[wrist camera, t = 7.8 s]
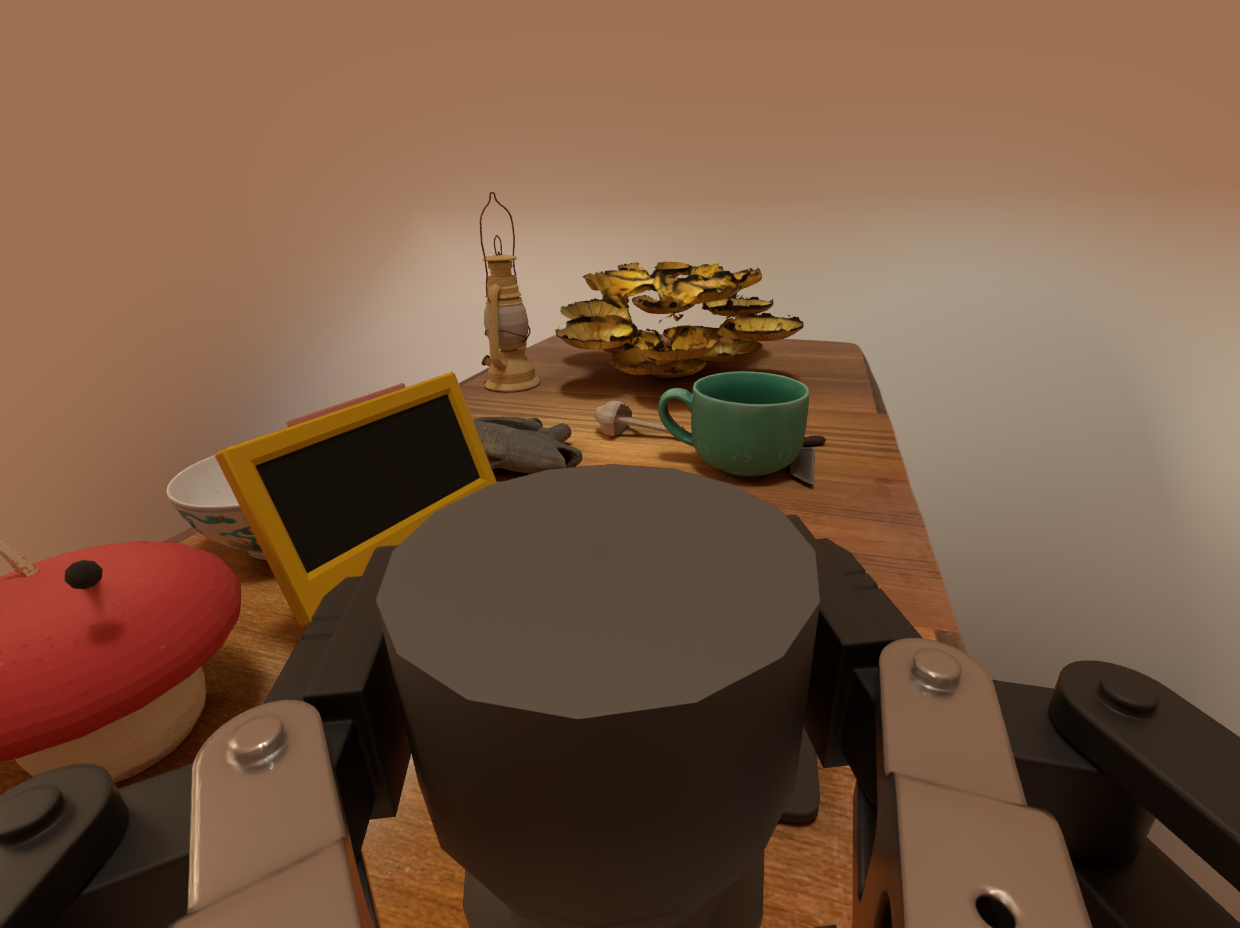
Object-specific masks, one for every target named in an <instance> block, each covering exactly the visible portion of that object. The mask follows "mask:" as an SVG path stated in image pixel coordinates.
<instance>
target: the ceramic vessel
mask: <svg viewBox="0 0 1240 928" xmlns="http://www.w3.org/2000/svg"><path fill="white" fill-rule="evenodd" d="M473 422H474V425H475V427H476V430H477V433H478V435H479V438H480V440H481V443H482V445H483V448H484V451H485V453H486V456H487V458H488V461H489V464H490V466H491V469H492V470H493V469H496V468H503V469H506V470H509V471H515V472H520V473H526V474H534V473H538V472H542V471H545V470H550V469H561V468H572V467H576V466H577V465H578V464H579V463H580V462H581V460H582V454H581V451H579V450H578V449H576V448H573V447H570V446H568V445H565V444H563V442H564V441H566V440H567V439H568V438H569V437H570V436H571V429H570V427H569V426H568V425H566V424H564V423H562V424H559V425H556V426H554V427H551V428H548V429H546V428H543V426H542V423H541V421H540V420H539V419H537V418H529V419H526V418H520V417H484V418H478V419H473Z"/></svg>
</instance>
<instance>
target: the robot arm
mask: <svg viewBox="0 0 1240 928" xmlns="http://www.w3.org/2000/svg"><path fill="white" fill-rule="evenodd" d="M786 517H787V518H788V519H789V520H790V521H791V523H792V524H793V525H794V526H795V527H796V529H797V530H798V531H799V532H800V533H801V535H802V536H803V537H804V538H805V539H806V540H807V542H808V543H809V544H810V545H811V546H812V548H813V549H814V550H815V553H816V564H817V574H818V585H819V595H820V606H819V614H818V621H817V629H816V636H815V644H814V651H813V659H812V666H811V674H810V681H809V689H808V696H807V703H806V711H805V718H804V728H805V730H806V733H807V735H808V737H809V739H810V741H811V743H812V745H813V747H814V749H815V751H816V753H817V755H818V758H819V760H820V762H821V764H822V766H823V768H830V767H838V766H847V765H849V766H850V768H851V769H852V771H853V773H854V775H855V777H856V779H857V780H856V785H855V790H854V797H853V919H852V928H1240V923H1239V922H1238V921H1237V920H1236V919H1235V918H1234V917H1232V915H1230V914H1229V913H1228V912H1227V911H1226V910H1225V909H1224V908H1223V907H1222V906H1221V905H1220V904H1219V903H1217V902H1216V901H1215V900H1214V899H1213V898H1212V897H1211V896H1210V895H1209V894H1208V893H1207V892H1206V891H1204V890H1203V889H1202V888H1201V887H1200V886H1199V885H1198V884H1197V883H1196V882H1195V881H1194V880H1193V879H1191V878H1190V877H1189V876H1188V875H1187V874H1186V873H1185V872H1184V871H1183V870H1181V868H1180V867H1178V866H1177V865H1176V864H1175V863H1174V862H1173V861H1172V860H1171V859H1170V858H1169V857H1168V856H1167V855H1165V854H1164V853H1163V852H1162V851H1161V850H1160V849H1159V848H1158V847H1157V846H1156V845H1155V844H1153V843H1152V842H1151V841H1150V840H1149V839H1148V838H1147V835H1148V833H1149V831H1150V828H1151V827H1152V825H1153V822H1154V821H1155V819H1156V818H1157V819H1158V820H1159V821H1160V822H1161V823H1162V824H1164V825H1165V826H1166V827H1167V828H1168V829H1169V830H1170V831H1172V832H1173V833H1174V834H1175V835H1176V836H1177V837H1178V838H1179V839H1181V840H1182V841H1183V842H1184V843H1185V844H1187V846H1188V847H1190V848H1191V849H1192V850H1193V851H1194V852H1195V853H1196V854H1198V855H1199V856H1200V857H1201V858H1202V859H1203V860H1204V861H1206V862H1207V863H1208V864H1209V865H1210V866H1211V867H1212V868H1213V869H1215V870H1216V871H1217V872H1218V873H1219V874H1220V875H1221V876H1223V877H1224V878H1225V879H1226V880H1227V881H1228V882H1229V883H1231V884H1232V885H1233V886H1234V887H1235V888H1236V889H1237V890H1238V891H1239V892H1240V737H1239V736H1237V735H1236V734H1234V733H1233V732H1231V731H1230V730H1228V729H1227V728H1226V727H1224V726H1223V725H1221V724H1220V723H1218V722H1217V721H1215V720H1214V719H1212V718H1211V717H1210V716H1208V715H1206V714H1205V713H1204V712H1202V711H1201V710H1199V709H1198V708H1196V707H1195V706H1194V705H1192V704H1191V703H1189V702H1188V701H1186V700H1185V699H1183V698H1182V697H1180V696H1179V695H1178V694H1176V693H1175V692H1173V691H1172V690H1170V689H1169V688H1167V687H1166V686H1164V685H1162V684H1161V683H1159V682H1158V681H1156V680H1154V679H1152V678H1150V677H1148V676H1146V675H1144V674H1141V673H1139V672H1137V671H1135V670H1132V669H1129V668H1126V667H1123V666H1119V665H1116V664H1112V663H1106V662H1100V661H1078V662H1074V663H1071V664H1068V665H1067V666H1065V667H1064V668H1063V669H1062V671H1061V672H1060V675H1059V678H1058V681H1057V684H1056V686H1055V689H1052V688H1045V687H1038V686H1031V685H1024V684H1017V683H1009V682H1002V681H997V680H992V679H991V677H990V675H989V674H988V672H987V671H986V670H985V669H984V668H983V667H982V666H981V665H980V664H979V663H978V662H977V661H976V660H974V659H973V658H972V657H970V656H969V655H968V654H966V653H964V652H962V651H961V650H959V649H957V648H954V647H952V646H950V645H947V644H944V643H941V642H938V641H934V640H929V639H923V638H922V637H921V636H920V635H919V633H918V632H917V631H916V630H915V629H914V627H913V626H912V625H911V624H910V623H909V621H908V620H907V619H906V618H905V617H904V616H903V614H902V613H901V612H900V611H899V610H898V608H897V607H896V606H895V605H894V604H893V603H892V601H891V600H890V599H889V598H888V597H887V595H886V594H885V593H884V592H883V591H882V590H881V589H878V585H877V584H876V582H875V581H874V580H873V579H872V578H871V576H870V575H869V574H866V573H865V569H864V568H863V567H862V566H861V565H860V563H859V562H858V561H857V560H856V559H855V558H854V556H853V555H852V554H851V553H850V552H849V551H847V550H845V549H844V548H842V547H840V546H839V545H837V544H835V543H834V542H832V541H830V540H829V539H827V538H825V539H815V537H814V536H813V535H812V534H811V532H810V531H809V530H808V528H807V527H806V526H805V525H804V523H803V522H802V521H801V519H800V518H799V517H798V516H797V515H786ZM398 546H399V545H391V546H379V547H377V548H376V549H375V550H374V552H373V554H372V556H371V558H370V560H369V562H368V564H367V566H366V568H365V570H364V572H363V574H362V576H356V577H346V578H345V579H343V580H342V581H341V582H340V583H339V584H338V585H336V586H335V587H334V588H333V589H332V590H330V591H329V592H328V593H327V594H326V595H325V596H323V598H322V600H321V602H320V603H319V605H318V607H317V609H316V611H315V612H314V614H313V616H312V618H311V619H312V621H311V622H309V623H308V625H307V627H306V628H305V630H304V632H303V634H302V636H301V637H302V638H301V640H300V641H298V643H297V644H296V646H295V648H294V650H293V652H292V653H291V655H290V657H289V659H288V661H287V662H286V664H285V666H284V668H283V669H282V671H281V673H280V675H279V677H278V678H277V680H276V682H275V684H274V686H273V687H272V689H271V691H270V693H269V694H268V696H267V698H266V700H265V702H264V703H263V705H259V706H256V707H254V708H252V709H249V710H247V711H245V712H243V713H241V714H239V715H237V716H236V717H234V718H233V719H231V720H229V721H228V722H226V723H225V724H224V725H223V726H221V727H220V728H219V729H217V730H216V731H215V732H214V733H213V734H212V735H211V736H210V737H209V738H208V739H207V741H206V742H205V743H204V744H203V745H202V747H201V748H200V750H199V752H198V753H197V755H196V758H195V760H194V763H192V764H189V765H186V766H184V767H181V768H178V769H175V770H172V771H169V772H166V773H163V774H161V775H158V776H155V777H152V778H149V779H146V780H143V781H140V782H137V783H134V784H131V785H128V786H125V787H122V788H119V789H117V787H116V785H115V784H114V782H113V780H112V778H111V776H110V775H109V773H108V771H107V770H105V769H104V768H103V767H101V766H98V765H95V764H73V765H68V766H62V767H59V768H56V769H52V770H49V771H46V772H44V773H41V774H38V775H36V776H34V777H32V778H29V779H27V780H25V781H23V782H21V783H19V784H17V785H16V786H14V787H12V788H10V789H8V790H7V791H5V792H4V793H2V794H1V795H0V928H381V925H380V921H379V917H378V913H377V908H376V904H375V900H374V896H373V892H372V887H371V883H370V879H369V875H368V870H367V866H366V862H365V858H364V855H363V852H362V845H363V841H364V838H365V834H366V831H367V827H368V824H369V820H371V819H379V818H388V817H396V813H397V809H398V805H399V801H400V797H401V793H402V789H403V785H404V781H405V777H406V773H407V768H408V764H409V760H410V756H411V749H410V745H409V740H408V736H407V732H406V727H405V723H404V719H403V715H402V710H401V706H400V702H399V697H398V693H397V689H396V685H395V680H394V676H393V672H392V667H391V663H390V659H389V655H388V650H387V646H386V642H385V637H384V633H383V629H382V625H381V620H380V616H379V612H378V607H377V603H376V598H377V595H378V592H379V589H380V586H381V584H382V581H383V578H384V575H385V572H386V569H387V566H388V563H389V560H390V558H391V555H392V552H393V550H394V549H395V548H396V547H398ZM816 928H837V927H836V925H830V926H823V927H816Z"/></svg>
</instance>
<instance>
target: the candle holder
mask: <svg viewBox="0 0 1240 928" xmlns="http://www.w3.org/2000/svg"><path fill="white" fill-rule="evenodd" d="M376 603H377V607H378V612H379V616H380V620H381V625H382V629H383V633H384V637H385V642H386V646H387V650H388V655H389V659H390V663H391V667H392V672H393V676H394V680H395V685H396V689H397V693H398V697H399V702H400V706H401V710H402V715H403V719H404V723H405V727H406V732H407V736H408V740H409V745H410V749H411V753H412V757H413V762H414V766H415V770H416V775H417V779H418V783H419V786H420V789H421V791H422V794H423V797H424V800H425V803H426V806H427V809H428V812H429V815H430V818H431V820H432V823H433V826H434V829H435V832H436V835H437V838H438V841H439V844H440V846H441V848H442V849H443V850H444V851H445V852H446V853H447V854H449V855H450V856H451V857H452V858H453V859H454V860H455V861H457V862H458V863H459V864H460V865H461V866H462V867H463V868H465V869H466V870H465V883H464V896H463V908H464V912H465V915H466V918H467V921H468V924H469V927H470V928H760V926H761V923H762V915H763V883H764V849H765V847H766V845H767V843H768V841H769V839H770V837H771V835H772V833H773V831H774V829H775V827H776V825H777V824H778V822H779V820H780V818H781V816H782V814H783V812H784V810H785V808H786V806H787V804H788V802H789V800H790V798H791V796H792V794H793V792H794V790H795V786H796V778H797V771H798V763H799V756H800V748H801V741H802V733H803V726H804V718H805V711H806V703H807V696H808V689H809V681H810V674H811V666H812V659H813V651H814V644H815V636H816V629H817V621H818V614H819V606H820V595H819V585H818V574H817V564H816V553H815V550H814V549H813V548H812V546H811V545H810V544H809V543H808V542H807V540H806V539H805V538H804V537H803V536H802V535H801V533H800V532H799V531H798V530H797V529H796V527H795V526H794V525H793V524H792V523H791V521H790V520H789V519H788V518H787V517H786V515H785V514H784V513H783V512H782V511H781V510H779V509H777V508H775V507H773V506H771V505H770V504H768V503H766V502H764V501H762V500H760V499H759V498H757V497H755V496H753V495H751V494H749V493H748V492H746V491H744V490H742V489H740V488H738V487H737V486H735V485H733V484H730V483H726V482H722V481H718V480H715V479H711V478H707V477H703V476H699V475H696V474H692V473H688V472H684V471H681V470H677V469H671V468H658V467H644V466H631V465H618V464H607V465H595V466H584V467H572V468H561V469H550V470H545V471H542V472H538V473H534V474H530V475H526V476H522V477H519V478H515V479H511V480H507V481H503V482H500V483H496V484H492V485H488V486H486V487H484V488H482V489H480V490H478V491H476V492H474V493H472V494H470V495H468V496H466V497H464V498H462V499H460V500H458V501H456V502H454V503H452V504H450V505H448V506H446V507H444V508H442V509H440V510H438V511H436V512H434V513H433V514H432V515H431V516H430V517H429V518H427V519H426V520H425V521H424V522H423V523H422V524H421V525H420V526H419V527H418V528H417V529H416V530H415V531H414V532H413V533H411V534H410V535H409V536H408V537H407V538H406V539H405V540H404V541H403V542H402V543H401V544H400V545H399V546H398V547H396V548H395V549H394V550H393V552H392V555H391V558H390V560H389V563H388V566H387V569H386V572H385V575H384V578H383V581H382V584H381V586H380V589H379V592H378V595H377V598H376Z"/></svg>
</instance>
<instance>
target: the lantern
mask: <svg viewBox="0 0 1240 928" xmlns="http://www.w3.org/2000/svg"><path fill="white" fill-rule="evenodd" d="M492 193H493V194H494V198H495V200H496V202H497V203H498V204H499V205H501V204H500V203H499V202H498V201H497V199H496V196H495V193H494V192H491V193H490V196H489V202H488V204H487V205H486V206H485V208H486V207H487V206H488V205H489V203H490V200H491V194H492ZM501 206H502V207H503V208H504V209H505V210H506V211H507V212H508V213H509V211H508V210H507V209H506V208H505V207H504V206H503V205H501ZM485 208H484V209H483V211H482V214H481V217H480V235H481V245H482V250H483V254H484V258H483V261H485V267H486V275H487V276H486V294H487V295H486V296H485V297H486V298H488V299H487V302H486V304H487V305H486V308H485V312H484V313H485V314H484V325H485V330H486V331H485V335H486V336H487V337H488V338H489V342H490V343H489V344H490V356H491V359H490V356H488V355H486V356H485V357H484V359H483V361H482V365H487V366H489V370H488V372H489V380H488V381H487V382H486V384H485V387H486V388H488V389H490V390H494V391H500V392H517V391H523V390H527V389H531V388H534V387H536V386H537V385H538V384H539V383H540V380H539V378H538V377H536V376H535V369H534V365H533V364H532V362H531V361H530V360H529V359H528V358H527V357H526V356H525V355H524V354H525V351H526V340H527V338H528V336H529V335H530V327H529V326H528V318H527V314H526V309H525V307H524V305H523V304H522V302H523V301H522V300H521V297H519V296H521V293H520V292H519V290H518V285H517V278H516V272H515V265H514V260H515V259H516V257H515V256H514V247H515V236H514V227H513V221H512V217H511V214H510V213H509V215H510V218H511V222H512V229H513V242H514V243H513V256H510V255H502V244H501V240H500V238H499V237H498V236H497V235H496V237H498V238H499V240H500V244H501V254H500V253H499V252H498V255H497V253H496V248H495V239H496V237H495V239H494V248H495V254H496V255H493V256H488V257H485V253H484V248H483V243H482V231H481V229H482V227H481V219H482V215H483V212H484V210H485ZM510 260H513V267H514V273H515V275H512V274H511V268H512V261H510ZM486 261H488V268H490V270H491V276H489V277H488V272H487V266H486ZM490 261H491V262H490ZM487 281H488V286H487ZM528 328H529V334H528ZM527 334H528V336H527ZM517 348H518V349H517ZM499 349H502V350H500V353H499Z"/></svg>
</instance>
